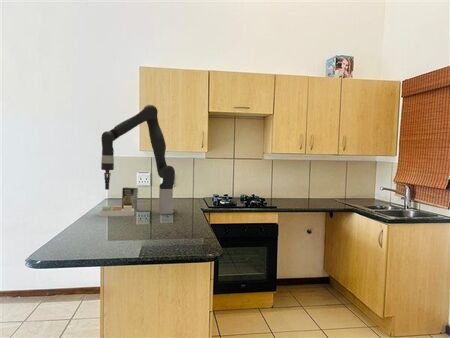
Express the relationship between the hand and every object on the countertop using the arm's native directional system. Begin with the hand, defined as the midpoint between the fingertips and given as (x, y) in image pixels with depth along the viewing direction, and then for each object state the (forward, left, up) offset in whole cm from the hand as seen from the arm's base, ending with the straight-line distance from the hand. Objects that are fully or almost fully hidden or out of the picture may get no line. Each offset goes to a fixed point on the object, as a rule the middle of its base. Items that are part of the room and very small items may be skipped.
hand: (107, 189), depth 204 cm
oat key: (-9, +9, -14) cm, 19 cm away
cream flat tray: (-5, +5, -17) cm, 18 cm away
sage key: (0, 0, -14) cm, 14 cm away
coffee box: (-24, -2, -17) cm, 29 cm away
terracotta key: (-5, +5, -14) cm, 16 cm away
